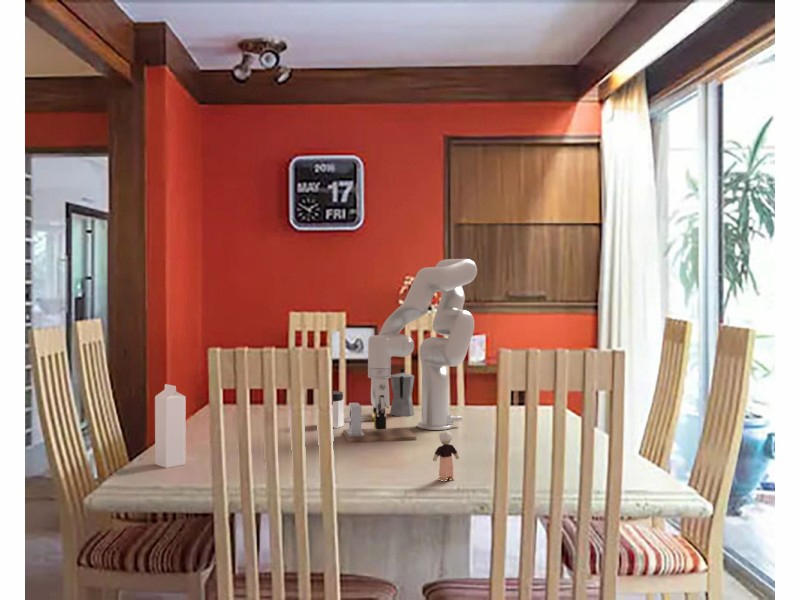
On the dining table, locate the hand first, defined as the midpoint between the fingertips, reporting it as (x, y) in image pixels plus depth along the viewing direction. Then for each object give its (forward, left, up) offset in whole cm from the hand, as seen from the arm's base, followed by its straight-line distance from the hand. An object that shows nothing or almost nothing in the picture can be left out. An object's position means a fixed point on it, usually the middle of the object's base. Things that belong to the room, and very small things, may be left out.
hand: (379, 426), depth 241 cm
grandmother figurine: (-8, +56, -3) cm, 57 cm away
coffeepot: (-15, -37, -3) cm, 40 cm away
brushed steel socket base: (+8, 0, -3) cm, 9 cm away
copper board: (0, 0, -3) cm, 3 cm away
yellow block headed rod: (+5, 0, 0) cm, 5 cm away
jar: (+14, -19, -3) cm, 24 cm away
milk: (+63, +28, -3) cm, 69 cm away
